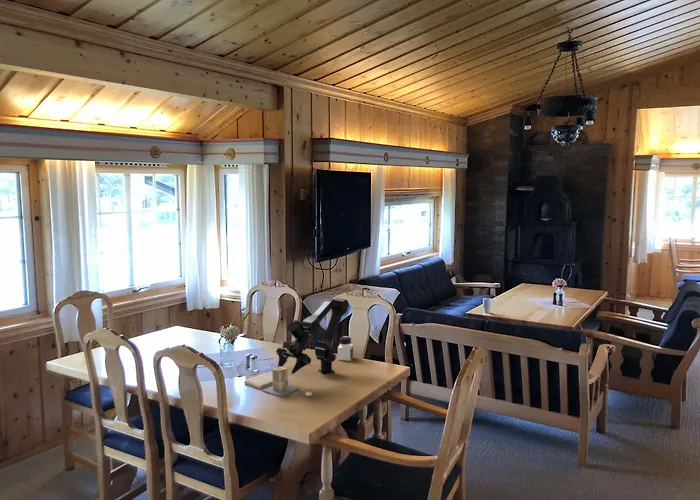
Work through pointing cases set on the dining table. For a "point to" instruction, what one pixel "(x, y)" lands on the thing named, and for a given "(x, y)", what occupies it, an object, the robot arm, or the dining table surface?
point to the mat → (278, 393)
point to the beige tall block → (280, 378)
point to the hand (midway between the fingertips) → (285, 371)
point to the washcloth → (260, 381)
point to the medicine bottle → (345, 349)
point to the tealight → (308, 394)
